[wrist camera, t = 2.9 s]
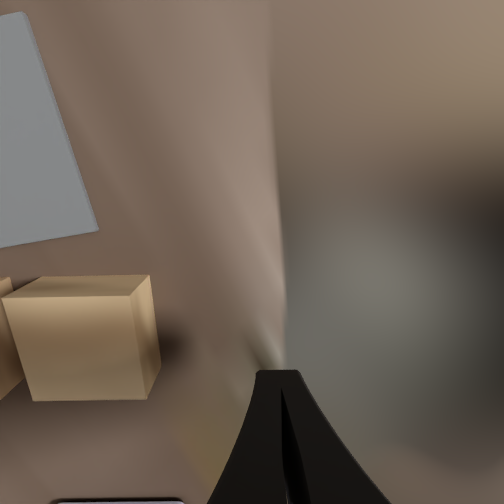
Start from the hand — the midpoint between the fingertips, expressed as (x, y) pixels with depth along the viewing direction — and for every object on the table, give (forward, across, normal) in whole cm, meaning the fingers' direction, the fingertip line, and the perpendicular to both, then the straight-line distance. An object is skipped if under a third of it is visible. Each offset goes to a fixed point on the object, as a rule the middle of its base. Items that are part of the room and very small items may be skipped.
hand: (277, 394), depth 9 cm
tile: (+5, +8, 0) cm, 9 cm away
